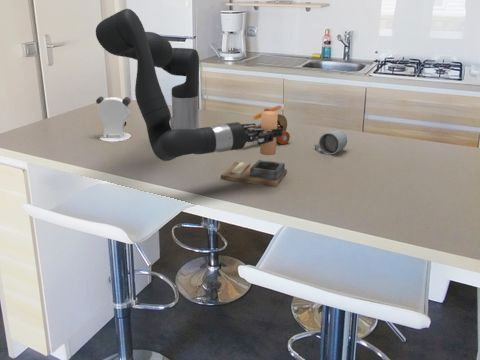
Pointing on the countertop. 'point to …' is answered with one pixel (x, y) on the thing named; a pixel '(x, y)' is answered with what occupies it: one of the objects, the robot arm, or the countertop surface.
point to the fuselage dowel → (269, 124)
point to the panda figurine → (114, 117)
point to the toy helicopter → (283, 125)
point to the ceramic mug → (332, 142)
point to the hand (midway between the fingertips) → (276, 130)
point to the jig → (256, 172)
